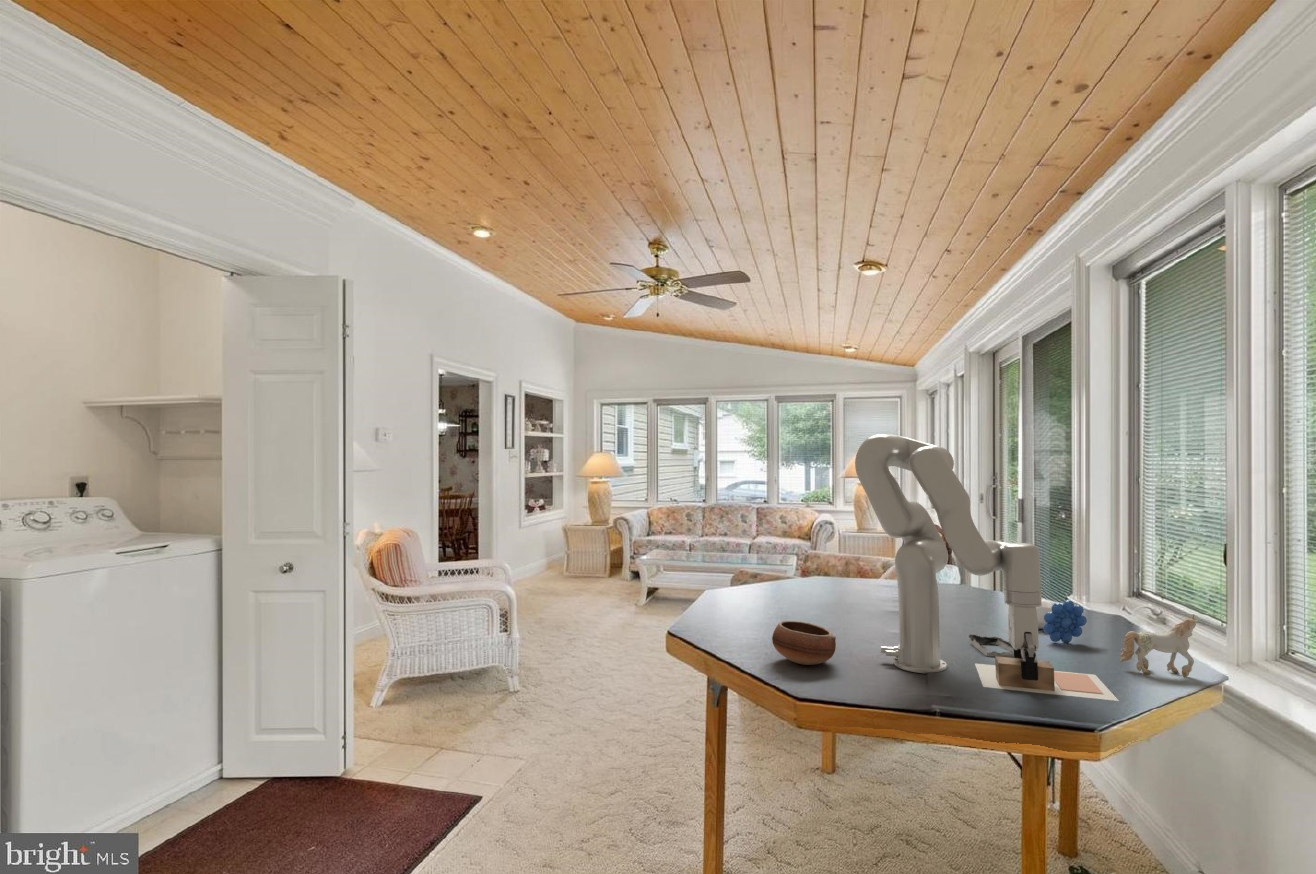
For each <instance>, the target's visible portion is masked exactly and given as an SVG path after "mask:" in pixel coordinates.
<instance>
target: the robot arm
mask: <svg viewBox="0 0 1316 874" xmlns="http://www.w3.org/2000/svg"><path fill="white" fill-rule="evenodd" d="M854 460H855V461H854V468H855V472H856V476H857V479H858V480H859V483H860V485H861V486H862V489H863V491H864V492H865V494H866V496H867V498H868V501H869V503H870V505H871V507H872V509H873V511H874V514H875V515H876V518H877V519H878V522H879V524H880V526H881V528H882V530H883V531H884V533H886V534H887V535H888V536H889V537H892V538H895V539H901V540H902V541H903V544H902V545H901V546H900V547H899V548H898V549H897V552H896V554H895V557H894V566H895V573H896V581H897V589H898V590H897V591H898V592H897V594H898V597H897V598H898V626H899V627H898V635H899V636H898V638H899V643H897V645H894V646H888V645H887V646H886V645H885V646H884V645H881V646H880V653H881V655H885V656H887V657H893V661H892V662H893V665H894V666H895V667H897V668H899V669H901V670H904V671H907V672H911V673H919V674H928V673H939V672H944V671H946V670H947V669H948V663H947V662H946V661H945V660H943V659H942V658H941V636H940V635H941V633H940V630H941V629H940V627H941V626H940V598H939V587H938V582H937V581H938V580H937V575H936V574H937V573H939V572H941V571H942V570H943V569H944V568H945V567H946V566H947V564H948V561H949V553H948V548H947V547H946V544H945V542H944V540H943V538H942V537H941V534H940V532H939V531H938V528H937V527H936V525H935V523H934V521H933V519H932V517H931V515H930V514H929V512H928V511H927V509H926V508H925V507H924V506H923V505H922V504H921V503H919V502H917V501H915V500H912V499H907V497H906V496H905V494H904V493H903V490H902V489H901V487H900V485H899V483H898V481H897V479H896V478H895V477H894V476H893V474H892V473H891V470H890V468H889V467H896V468H900V469H904V470H906V471H910V472H912V473H913V474H912V475H913V476H914V477H915V479H916V481H917V483H918V484H919V486H920V487H921V489H922V491H923V492H924V494H925V495H926V497H927V499H928V500H929V502H930V504H931V505H932V507H933V508H934V510H935V512H936V514H937V515H936V516H937V519H938V522H939V525H940V528H941V530H942V534H943V536H944V538H945V540H946V542H947V543H948V546H949V548H950V549H951V550H952V552H953V554H954V555H955V558H956V559H957V561H958V562H959V564H960V565H961V566H962V568H963V569H964V570H966V571H967V572H968V573H970V574H972V575H974V576H980V577H981V576H982V577H983V576H986V575H990V574H991V573H994V572H997V571H998V572H999V571H1002V574H1003V575H1002V576H1003V577H1002V579H1003V596H1004V597H1003V599H1004V600H1003V601H1004V604H1006V605H1008V607H1007V613H1008V614H1007V616H1008V617H1007V621H1008V623H1007V624H1008V625H1007V626H1008V630H1007V631H1008V636H1007V637H1008V639H1007V640H1008V642H1010V644H1011V645H1012V647H1013V648H1014V657H1013V658H1020V659H1022V661H1021V677H1022V679H1024V680H1035V681H1037V680H1038V662H1037V660H1038V659H1037V653H1036V652H1038V651H1039V629H1038V621H1037V608H1036V607H1040V606H1042V600H1043V599H1042V581H1041V580H1042V579H1041V558H1040V557H1041V556H1040V555H1041V554H1040V550H1039V549H1040V548H1038V546H1037V545H1035V544H1033V543H1027V542H1003V541H998V540H992V539H984V538H983V536H982V535H981V533H980V532H979V531H978V529H977V527H976V525H975V522H974V520H973V518H972V514H971V498H970V496H969V493H968V492H967V490H966V489H965V487H964V486H963V484H962V482H961V480H960V479H959V478H958V476H957V474H956V473H955V471H954V466H955V460H954V457H953V455H952V454H951V453H950V452H949V451H948V450H947V449H946V448H944V447H942V446H939V445H936V444H930V443H926V442H923V441H920V440H916V439H912V438H909V437H905V436H901V435H897V434H887V433H882V434H881V433H880V434H874V435H872V436H869V437H868V438H866V439H865V440H864V441H863V442H862V443H861V444H860V446H859V448H858V450H857V452H856V454H855V459H854Z"/></svg>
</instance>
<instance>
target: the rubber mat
mask: <svg viewBox="0 0 1316 874" xmlns="http://www.w3.org/2000/svg"><path fill="white" fill-rule="evenodd" d="M974 665H975V669H976V670H977V674H978V676H979V679H980V682H981V685H982V687H983V688H989V689H998V690H999V689H1001V690H1009V691H1018V692H1019V691H1020V692H1028V693H1036V694H1037V693H1038V694H1046V695H1058V696H1064V697H1065V696H1067V697H1075V698H1076V697H1077V698H1084V699H1094V700H1104V701H1113V702H1114V701H1115V702H1120V700H1119V699H1118V698H1117V697H1116V695H1114V694H1113V692H1112V691H1110V689H1109V688H1108V687H1107V686H1106V684H1104V682H1103V681H1102V680H1101V679H1100V678H1099V677H1098V676H1097V675H1096V674H1091V673H1080V672H1071V671H1062V670H1061V671H1058V670H1054V687H1055V691H1049V690H1040V689H1030V688H1020V687H1011V686H1001V685H999V684H998V682H997V679H996V664H986V663H974Z"/></svg>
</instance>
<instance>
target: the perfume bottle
mask: <svg viewBox="0 0 1316 874" xmlns="http://www.w3.org/2000/svg"><path fill="white" fill-rule="evenodd" d="M1053 605H1054V604H1053V603H1051V602H1050V601H1048V600H1047V599H1042V606H1040V607H1036V608H1037V621H1038V630H1043V627H1044V625H1045V624H1047V622H1045V620H1044V615H1045V614H1046V613H1048V612H1052V606H1053Z"/></svg>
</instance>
